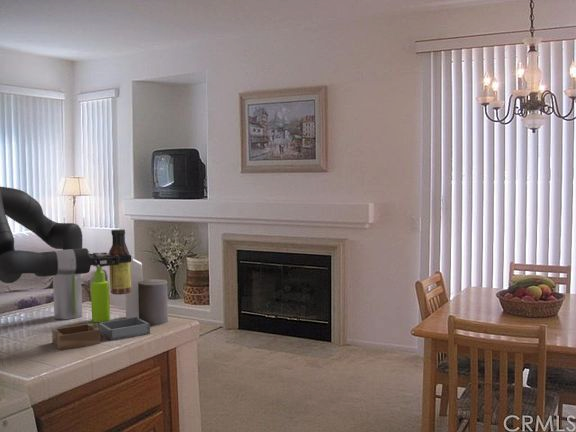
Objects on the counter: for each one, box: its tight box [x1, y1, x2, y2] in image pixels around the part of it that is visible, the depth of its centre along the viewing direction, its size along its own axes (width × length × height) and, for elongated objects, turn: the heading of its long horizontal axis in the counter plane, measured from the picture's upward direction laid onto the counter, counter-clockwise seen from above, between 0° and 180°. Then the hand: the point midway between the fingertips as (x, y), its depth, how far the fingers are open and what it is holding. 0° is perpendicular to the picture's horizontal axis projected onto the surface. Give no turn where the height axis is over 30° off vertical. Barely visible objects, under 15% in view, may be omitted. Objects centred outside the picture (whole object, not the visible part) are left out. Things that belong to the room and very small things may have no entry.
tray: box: [97, 317, 151, 341], centre depth 176 cm, size 11×12×3 cm
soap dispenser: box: [90, 267, 111, 323], centre depth 193 cm, size 6×7×20 cm
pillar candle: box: [138, 277, 169, 326], centre depth 189 cm, size 10×10×15 cm
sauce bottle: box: [108, 228, 131, 295], centre depth 174 cm, size 6×6×20 cm
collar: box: [51, 322, 101, 351], centre depth 165 cm, size 10×11×4 cm
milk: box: [124, 253, 144, 319], centre depth 196 cm, size 6×6×22 cm
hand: (127, 257), depth 175 cm, fingers closed on sauce bottle, 6 cm apart
